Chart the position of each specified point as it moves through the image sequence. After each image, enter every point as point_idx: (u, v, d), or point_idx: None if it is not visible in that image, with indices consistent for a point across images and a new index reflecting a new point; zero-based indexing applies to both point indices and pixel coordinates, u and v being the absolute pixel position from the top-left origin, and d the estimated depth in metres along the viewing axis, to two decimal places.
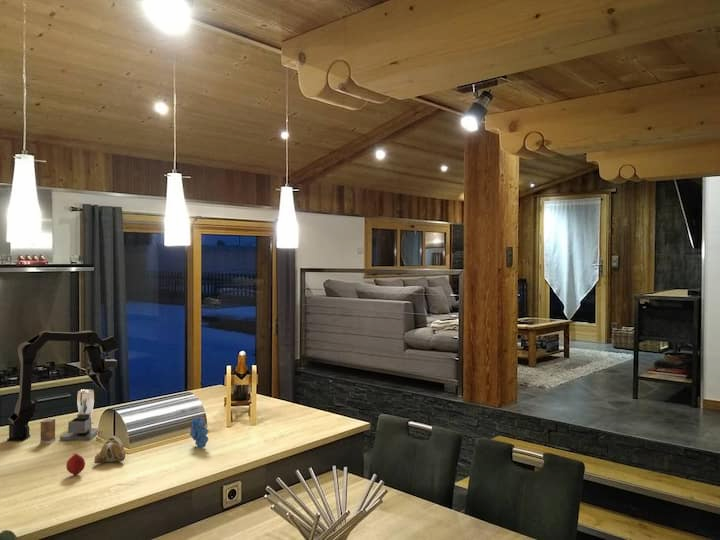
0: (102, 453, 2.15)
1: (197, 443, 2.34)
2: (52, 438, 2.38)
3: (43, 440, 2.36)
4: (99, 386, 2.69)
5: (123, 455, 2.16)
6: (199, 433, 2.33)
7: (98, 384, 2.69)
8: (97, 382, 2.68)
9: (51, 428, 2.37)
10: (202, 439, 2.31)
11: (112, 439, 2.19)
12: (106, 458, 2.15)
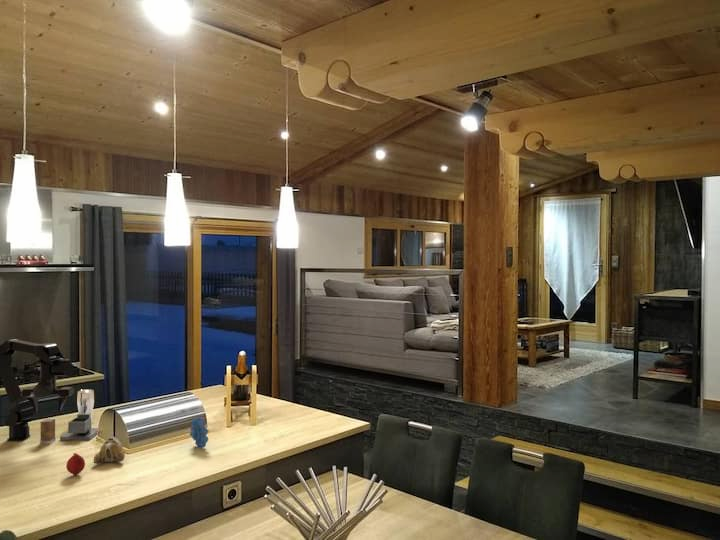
0: (101, 453, 2.15)
1: (197, 443, 2.34)
2: (52, 438, 2.38)
3: (43, 440, 2.36)
4: None
5: (122, 455, 2.16)
6: (199, 433, 2.33)
7: None
8: None
9: (51, 428, 2.37)
10: (202, 439, 2.31)
11: (111, 439, 2.18)
12: (105, 458, 2.14)
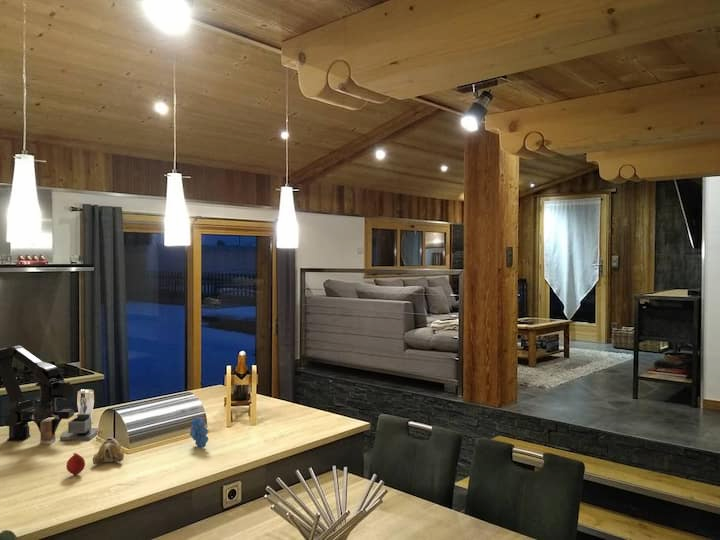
0: (100, 454, 2.14)
1: (197, 443, 2.34)
2: (52, 438, 2.38)
3: (43, 440, 2.36)
4: None
5: (121, 455, 2.16)
6: (199, 433, 2.33)
7: None
8: None
9: (51, 427, 2.37)
10: (202, 439, 2.31)
11: (110, 439, 2.18)
12: (104, 459, 2.14)
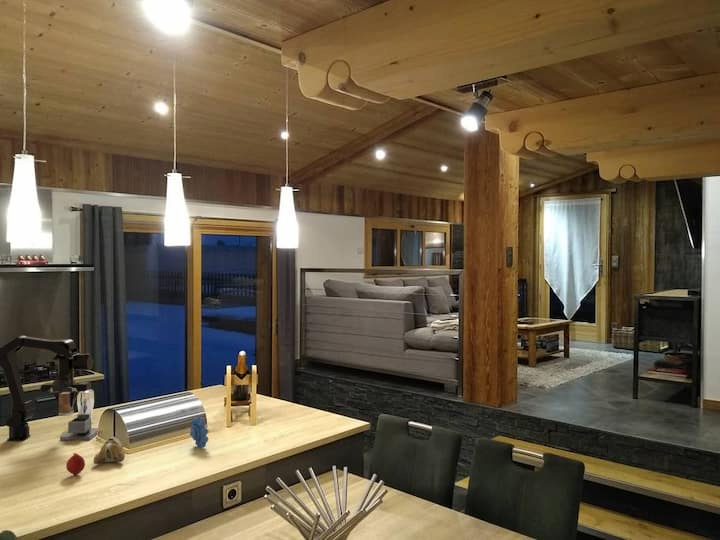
0: (101, 454, 2.14)
1: (197, 443, 2.34)
2: (70, 410, 2.42)
3: (62, 413, 2.40)
4: None
5: (122, 455, 2.16)
6: (199, 433, 2.33)
7: None
8: None
9: (70, 400, 2.41)
10: (202, 439, 2.31)
11: (111, 439, 2.18)
12: (105, 459, 2.14)
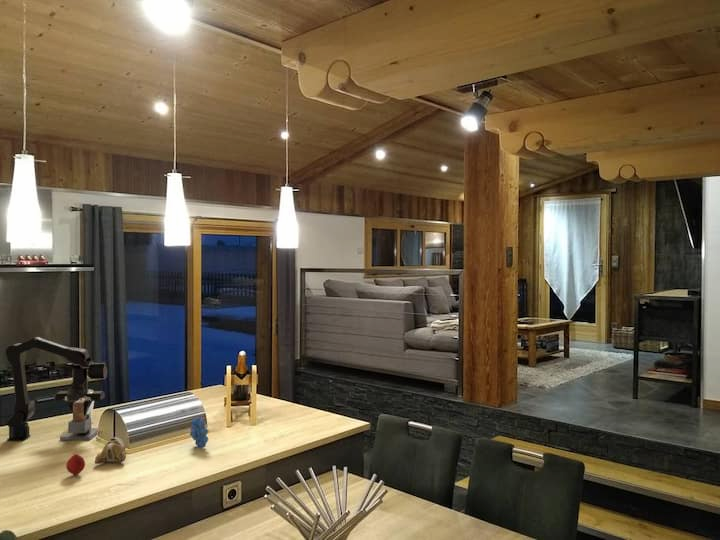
0: (103, 453, 2.14)
1: (197, 443, 2.34)
2: (84, 419, 2.45)
3: (76, 421, 2.44)
4: None
5: (124, 456, 2.16)
6: (199, 433, 2.33)
7: None
8: None
9: (83, 409, 2.45)
10: (202, 439, 2.31)
11: (113, 440, 2.18)
12: (107, 459, 2.14)
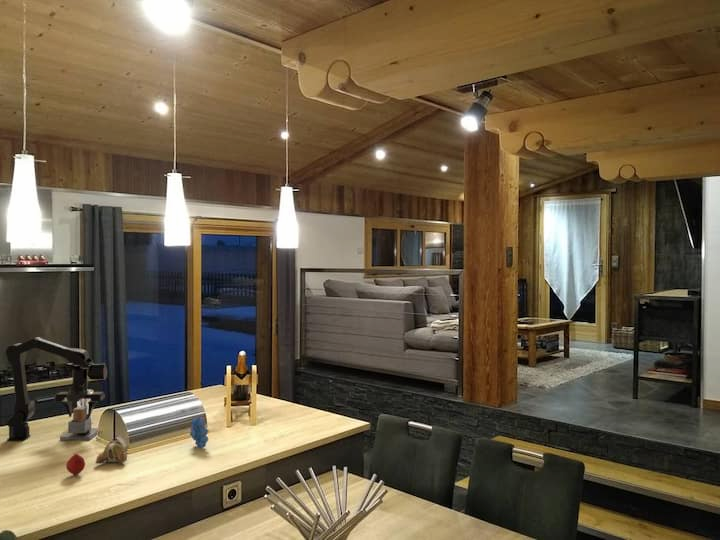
0: (104, 453, 2.15)
1: (197, 443, 2.34)
2: None
3: None
4: None
5: (125, 456, 2.15)
6: (199, 433, 2.33)
7: None
8: None
9: (84, 415, 2.45)
10: (202, 439, 2.31)
11: (115, 440, 2.18)
12: (108, 459, 2.14)
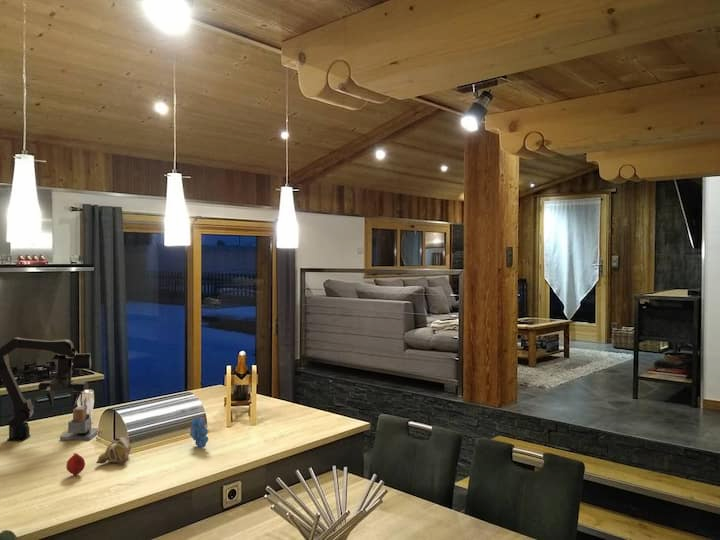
0: (106, 453, 2.15)
1: (197, 443, 2.34)
2: None
3: None
4: None
5: (126, 457, 2.15)
6: (199, 433, 2.33)
7: None
8: None
9: (83, 415, 2.45)
10: (202, 439, 2.31)
11: (117, 440, 2.18)
12: (109, 459, 2.14)
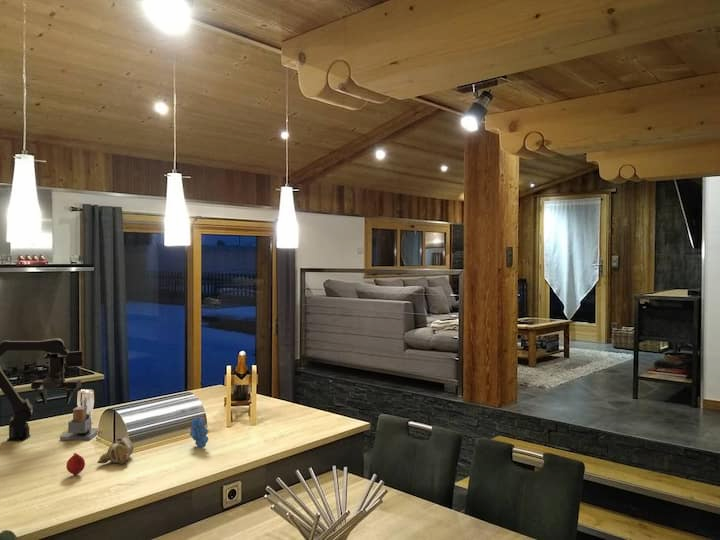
0: (107, 453, 2.15)
1: (197, 443, 2.34)
2: None
3: None
4: None
5: (127, 457, 2.14)
6: (199, 433, 2.33)
7: None
8: None
9: (83, 415, 2.45)
10: (202, 439, 2.31)
11: (119, 440, 2.18)
12: (111, 459, 2.14)
